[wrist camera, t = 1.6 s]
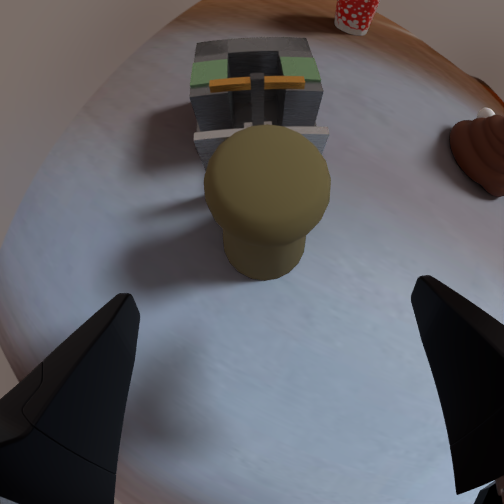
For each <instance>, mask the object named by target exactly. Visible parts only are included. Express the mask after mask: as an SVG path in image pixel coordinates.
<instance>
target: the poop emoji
mask: <svg viewBox="0 0 504 504" xmlns="http://www.w3.org/2000/svg"><path fill="white" fill-rule="evenodd" d="M450 145H451V150H452V153H453V155H454V157H455V159H456V161H457V163H458V165H459V166H460V167H461V169H462V170H463V171H464V172H465V173H466V174H467V175H468V176H469V177H470V178H471V179H472V180H474V181H475V182H477V183H479V184H481V185H482V186H483V187H484V189H485V190H486V191H487V192H489V193H490V194H491V195H494V196H497V197H501V196H504V117H503V116H501V115H495V113H494V112H493V111H492V110H491V109H489V108H482V109H481V110H480V111H479V112H478V114H477V118H476V119H474V120H473V121H471V120H464V121H460V122H458V123H457V124H455V125H454V126H453V128H452V130H451V133H450Z"/></svg>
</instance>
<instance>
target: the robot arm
mask: <svg viewBox="0 0 504 504" xmlns="http://www.w3.org/2000/svg"><path fill="white" fill-rule="evenodd" d="M411 303H412V307H413V310H414V314H415V317H416V321H417V325H418V329H419V333H420V336H421V340H422V343H423V346H424V349H425V352H426V355H427V358H428V361H429V365H430V368H431V371H432V374H433V378H434V381H435V384H436V388H437V392H438V395H439V399H440V403H441V407H442V411H443V415H444V419H445V424H446V429H447V433H448V438H449V444H450V450H451V456H452V462H453V470H454V478H455V487H456V494H457V495H458V494H461V493H464V492H467V491H469V490H472V489H475V488H477V487H480V486H482V485H484V484H487V483H489V482H491V481H493V480H495V481H494V482H492V483H491V484H489V485H488V486H486V487H485V488H483V489H482V490H480V492H479V494H478V496H477V498H476V500H475V502H474V504H504V325H503V324H502V323H500V322H499V321H497V320H496V319H495V318H493V317H492V316H490V315H489V314H488V313H486V312H485V311H483V310H482V309H481V308H479V307H478V306H476V305H475V304H473V303H472V302H470V301H469V300H467V299H466V298H464V297H463V296H461V295H460V294H458V293H457V292H455V291H454V290H452V289H451V288H449V287H448V286H446V285H445V284H443V283H442V282H440V281H438V280H437V279H435V278H434V277H432V276H430V275H425V276H420V277H419V278H418V279H417V281H416V284H415V287H414V289H413V292H412V295H411ZM139 323H140V313H139V310H138V308H137V306H136V303H135V301H134V299H133V296H132V295H131V294H129V293H119V294H117V295H116V296H115V297H114V298H112V299H111V300H110V301H109V302H108V303H107V304H105V305H104V306H103V307H102V308H101V309H100V310H98V311H97V312H96V313H95V314H94V315H93V316H92V317H90V318H89V319H88V320H87V321H86V322H85V323H84V324H82V325H81V326H80V327H79V328H78V329H77V330H76V331H75V332H74V333H72V334H71V335H70V336H69V337H68V338H67V339H66V340H65V341H64V342H63V343H61V344H60V345H59V346H58V347H57V348H56V349H55V350H54V351H53V352H52V353H51V354H50V355H49V356H47V357H46V358H45V359H44V361H43V362H41V363H40V364H39V365H38V366H37V367H36V368H35V369H34V370H33V371H32V372H31V373H30V374H28V375H27V376H26V377H25V378H24V379H23V380H22V381H21V382H20V383H18V384H17V385H16V386H15V387H14V388H13V389H12V390H10V391H9V392H8V393H7V394H6V395H4V396H3V397H2V398H1V399H0V504H114V495H115V482H116V470H117V461H118V453H119V445H120V438H121V431H122V425H123V419H124V413H125V407H126V402H127V396H128V391H129V386H130V381H131V376H132V372H133V367H134V362H135V355H136V346H137V338H138V330H139Z"/></svg>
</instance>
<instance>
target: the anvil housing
mask: <svg viewBox="0 0 504 504" xmlns="http://www.w3.org/2000/svg"><path fill="white" fill-rule="evenodd" d="M250 73H264V76H304V79H305V88H304V89H264V122H268V121H272V125H276V126H283V127H292V126H304V127H317V126H316V122H315V121H316V117H317V114H318V110H319V106H320V103H321V99H322V95H323V88H322V85H321V78H320V75H319V71H318V68H317V65H316V62H315V59H314V58H313V56H312V53H311V50H310V47H309V45H308V42H307V39H306V38H290V37H260V38H239V39H226V40H216V41H208V42H200V43H197V46H196V52H195V59H194V63H193V67H192V74H191V81H190V87H191V88H190V101H191V104H192V107H193V110H194V113H195V116H196V119H197V130H196V132H205V131H214V130H225V129H239V128H244V123H246V122H252V106H251V90H240V91H227V92H216V93H211V92H210V88H209V82H210V80H215V79H225V78H238V77H250ZM196 150H197V148H196ZM197 152H198V151H197Z"/></svg>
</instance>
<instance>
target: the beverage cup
mask: <svg viewBox="0 0 504 504" xmlns="http://www.w3.org/2000/svg"><path fill="white" fill-rule="evenodd" d="M379 2H380V0H337V5H336V13H335V21H334V23H335V26H336V27H337V28H339V29H340V30H342V31H344V32H346V33H349V34H352V35H359V36H361V35H365V34H366V33H367V31H368V28H369V26H370V23H371V21H372V19H373V16H374V14H375V12H376V9H377V7H378V4H379Z"/></svg>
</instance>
